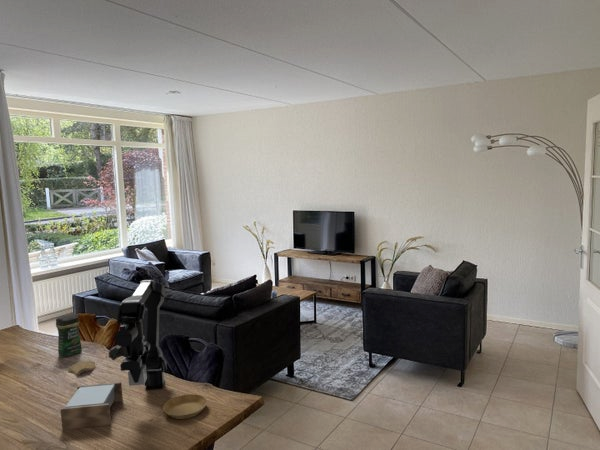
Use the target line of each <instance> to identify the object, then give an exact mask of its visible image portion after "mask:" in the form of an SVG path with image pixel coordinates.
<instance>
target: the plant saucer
mask: <svg viewBox="0 0 600 450" xmlns="http://www.w3.org/2000/svg"><path fill="white" fill-rule="evenodd" d="M207 404H208V399H207V397H205V396H203V395H201V394H195V393H193V394H191V393H189V394H182V395H181V394H180V395H178V396H176V397H173V398H171V399H169V400H168V401H166V402H165V403H164V404H163V409H162V410H163V411H164V412H165V413H166V415H168V416H169V417H172V418H173V419H177V420H184V419H190V418H193V417H196V416H197V415H199V414H200V413H201V412H202V411H203V410H204V409H205V408H206V406H207Z"/></svg>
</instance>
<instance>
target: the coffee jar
mask: <svg viewBox="0 0 600 450" xmlns="http://www.w3.org/2000/svg"><path fill="white" fill-rule="evenodd" d="M79 325H80V319H79V315H78V314H77V313H70V314H65V315H62V316H58V317H56V320H55V327H56V328H57V335H58V341H57V342H58V343H57V344H58V345H57V346H58V347H57V348H58V350H57V353H58V356H60V357H62V358H63V357H64V358H68V357H71V356H74V355H77V354H79V353H82V351H83V348H82V342H81V337H80V333H79Z"/></svg>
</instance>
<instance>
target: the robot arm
mask: <svg viewBox="0 0 600 450" xmlns="http://www.w3.org/2000/svg"><path fill="white" fill-rule="evenodd" d="M166 292H167V291H166V287H165V286H164V284H161V283H158V282H156V281H155V280H153V279H143V280H140V281H139V284H138V286H137V288H136V289H135V291H134V293H132V295H131V296H129V297H126V298H125V299H123V300H122V301H121V303H120V305H119V308H118V313H117V319H116V324H117V325H120V324H121V325H120V326H119V329H118V331H116V333H115V334H114V337H113V339H114V343H115V344H116V345H115V346H113V347H111V348H110V349H109V351H108V358H110V359H111V361H115V360H117V359H118V358H121V357H123V356H124V357H125V358H124V359H123V360H122V362H120V364H119V366H120V371H123V372H124V371H130V373H131V375H132V378H133V380H134V382H135V383H138V380H139V377H140V374H141V370H142V367H143V365H146V371H147V379H146V382H145V384H144V387H145V388H144V389H145V391H146V390H158V389H163V388H164V385H165V383H166V379H165V377H164V376H165V375H164V372H165V371H167V370H168V367H167V366H168V365H167V363H168V362H167V360H166V359H165V356H164V354H163V353H164V352H163V351H162V349H161V347H160V346H159V340H160V308H161V306H162V305H163V304H164V301H165V297H166V294H167V293H166ZM146 309H147V313H146V314H147V315H146V336H145V335H144V331H143V328H144V327H143V320H144V318H145V312H146ZM145 337H146V341H145Z"/></svg>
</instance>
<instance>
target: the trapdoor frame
mask: <svg viewBox="0 0 600 450" xmlns="http://www.w3.org/2000/svg"><path fill="white" fill-rule="evenodd" d="M111 384H115V387H114V393H115V399H114V401H113V403H117V402H118V403H120V402H123V401H124V397H123V396H124V395H123V387H122V381H116V382H106V383H95V384H85V385H84V384H83V385H77V388H76V389H77V390H78V389H79V388H80V387H90V386H100V385H111ZM65 407H66V406H65ZM65 407H61V408H60V419H61V429H62V430H63V431H64V430H72V429H74V430H75V429H81V428H92V427H101V426H102V427H103V426H109V425H112V418H111V407H110V406H109V403H107V404H96V405H86V406H76V407H66V408H65Z"/></svg>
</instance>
